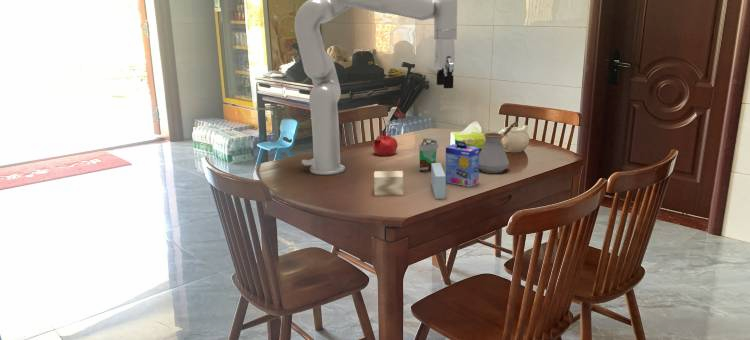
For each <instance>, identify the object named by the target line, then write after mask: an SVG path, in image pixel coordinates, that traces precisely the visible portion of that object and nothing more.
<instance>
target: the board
mask: <svg viewBox="0 0 750 340" xmlns="http://www.w3.org/2000/svg"><path fill="white" fill-rule="evenodd" d="M430 172H431V173H430V174H431V175H430V176H431V177H430V180H431V181H430V183H431V188H432V191H433V195H434V198H435V200H436V199H437V200H440V199H443V200H444V199H446V190H447V189H446V186H447V185H446V183H447V182H446V172H445V171H444V168H443V166H442V163H441V162H436V163H431V171H430Z"/></svg>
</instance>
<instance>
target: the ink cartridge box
mask: <svg viewBox="0 0 750 340" xmlns="http://www.w3.org/2000/svg"><path fill="white" fill-rule="evenodd" d="M479 154H480V148H479V147H476V146H469V145H467V144H466V141H462V140H455V144H451V145H448V146H446V147H445V176H446V183H447V184H452V185H458V186H462V187H468V188H472V187H474V186H476V185H478V184H480V179H479V178H480V168H479Z"/></svg>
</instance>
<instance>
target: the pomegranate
mask: <svg viewBox="0 0 750 340" xmlns="http://www.w3.org/2000/svg"><path fill="white" fill-rule="evenodd" d="M398 145H399V144H398V141H397V139H396V138H395V137H393V135H392V134H387V131H384V132H383V135H382V134H379V135H377V136H376V137H375V139H374V141H373V142H372V148H373V152H374V153H375V154H376V155H377V156H381V157H386V156H393V155H394V154H395V153H396V152H397V150H398V149H397V148H398V147H399V146H398Z"/></svg>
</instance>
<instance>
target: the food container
mask: <svg viewBox="0 0 750 340" xmlns="http://www.w3.org/2000/svg"><path fill="white" fill-rule="evenodd" d="M418 148H419V149H418V152H419V154H418V155H419V173H428V172H431V163H437V161H436V160H437V151H438V150H437V149H439V143H438V141H437V140H436V139H434V138H424V137H423V138H422V142H421V144H419V145H418Z"/></svg>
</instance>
